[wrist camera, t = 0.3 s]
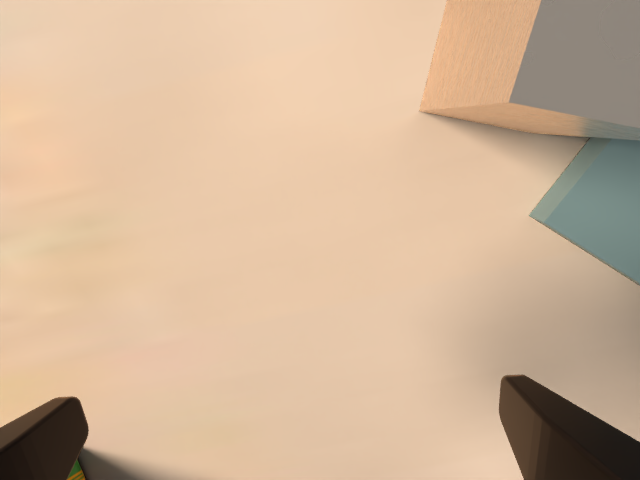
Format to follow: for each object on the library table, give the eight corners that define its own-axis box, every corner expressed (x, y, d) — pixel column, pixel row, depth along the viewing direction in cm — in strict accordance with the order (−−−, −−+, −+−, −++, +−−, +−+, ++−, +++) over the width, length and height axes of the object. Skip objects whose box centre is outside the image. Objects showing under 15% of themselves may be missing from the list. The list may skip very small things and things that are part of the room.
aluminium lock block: (532, 133, 19) (733, 146, 10) (419, 111, 19) (508, 102, 9) (573, 18, 17) (862, -104, 8) (449, -8, 17) (593, -163, 8)
